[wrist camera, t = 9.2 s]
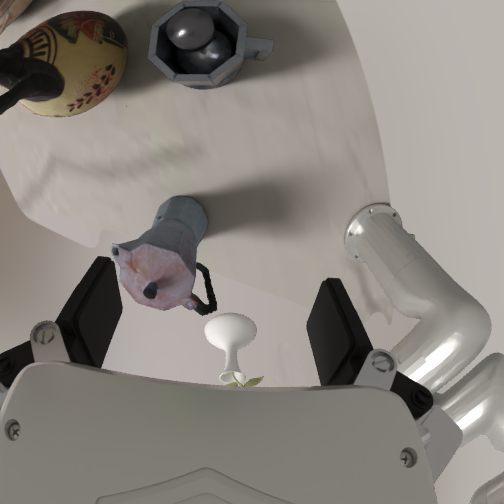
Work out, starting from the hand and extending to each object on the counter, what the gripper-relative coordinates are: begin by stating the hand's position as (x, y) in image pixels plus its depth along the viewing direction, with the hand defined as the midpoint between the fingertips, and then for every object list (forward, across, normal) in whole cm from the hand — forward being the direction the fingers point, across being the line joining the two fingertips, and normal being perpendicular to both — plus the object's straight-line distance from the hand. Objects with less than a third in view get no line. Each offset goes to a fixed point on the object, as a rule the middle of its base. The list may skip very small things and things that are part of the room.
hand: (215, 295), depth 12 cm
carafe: (+32, +4, -15) cm, 36 cm away
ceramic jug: (+32, +22, -13) cm, 41 cm away
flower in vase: (+33, -5, +37) cm, 50 cm away
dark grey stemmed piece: (+29, +5, -15) cm, 33 cm away
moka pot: (+32, +6, +12) cm, 35 cm away
